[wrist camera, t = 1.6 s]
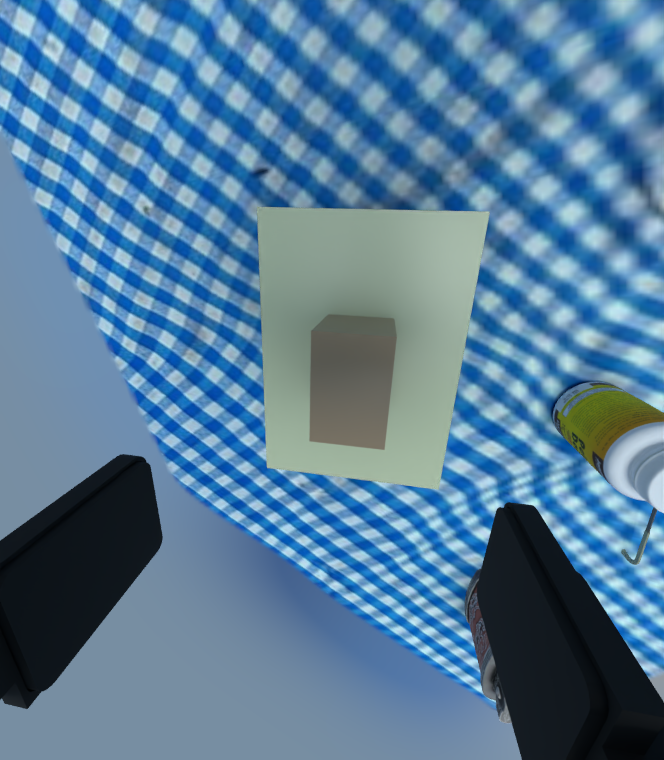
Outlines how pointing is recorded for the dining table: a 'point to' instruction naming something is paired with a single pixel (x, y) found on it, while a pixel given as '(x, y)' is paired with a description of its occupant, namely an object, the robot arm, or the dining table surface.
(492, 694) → the lighter
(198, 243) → the dining table surface
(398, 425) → the lid
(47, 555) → the robot arm
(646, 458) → the supplement bottle
